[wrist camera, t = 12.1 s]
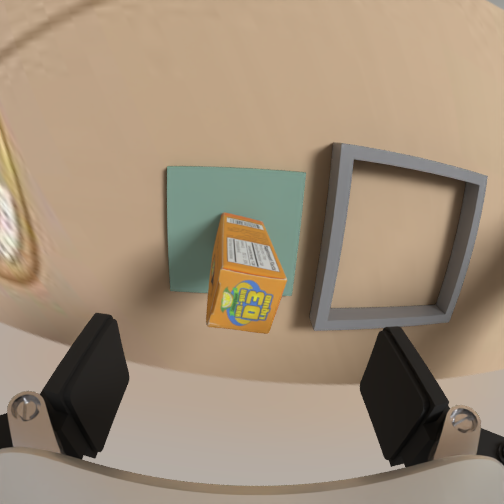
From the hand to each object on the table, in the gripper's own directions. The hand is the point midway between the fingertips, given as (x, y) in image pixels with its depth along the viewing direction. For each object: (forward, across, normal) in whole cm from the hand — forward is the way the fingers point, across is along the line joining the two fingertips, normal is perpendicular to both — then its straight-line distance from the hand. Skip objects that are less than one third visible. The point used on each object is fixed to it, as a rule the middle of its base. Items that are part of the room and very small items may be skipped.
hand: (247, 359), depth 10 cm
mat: (+14, +1, 0) cm, 14 cm away
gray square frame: (+15, -13, 0) cm, 20 cm away
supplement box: (+14, +1, 0) cm, 14 cm away
